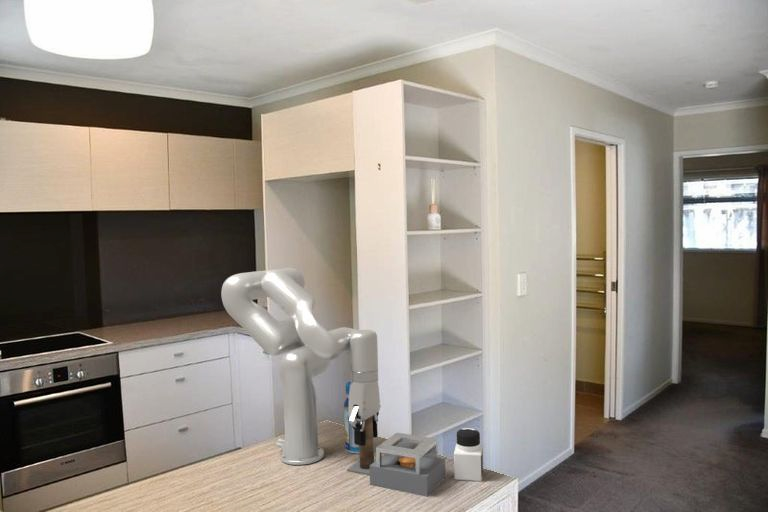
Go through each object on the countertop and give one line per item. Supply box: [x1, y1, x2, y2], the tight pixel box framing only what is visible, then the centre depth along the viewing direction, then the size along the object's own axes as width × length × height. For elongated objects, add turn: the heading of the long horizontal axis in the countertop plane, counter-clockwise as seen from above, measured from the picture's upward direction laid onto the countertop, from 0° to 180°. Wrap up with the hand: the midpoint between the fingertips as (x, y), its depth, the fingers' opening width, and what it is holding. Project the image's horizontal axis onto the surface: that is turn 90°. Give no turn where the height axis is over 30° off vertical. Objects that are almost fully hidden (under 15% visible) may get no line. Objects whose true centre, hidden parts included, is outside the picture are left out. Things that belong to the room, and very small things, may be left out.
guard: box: [375, 432, 439, 475], centre depth 152 cm, size 12×12×5 cm
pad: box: [346, 459, 376, 476], centre depth 161 cm, size 8×8×1 cm
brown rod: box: [358, 416, 375, 469], centre depth 161 cm, size 4×4×16 cm
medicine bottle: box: [453, 427, 484, 482], centre depth 155 cm, size 7×7×12 cm
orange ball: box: [399, 456, 416, 468], centre depth 152 cm, size 5×5×6 cm
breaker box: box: [369, 453, 447, 497], centre depth 152 cm, size 16×12×5 cm
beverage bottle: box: [343, 380, 359, 455], centre depth 175 cm, size 8×8×20 cm
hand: (366, 440), depth 161 cm, fingers open, 6 cm apart
